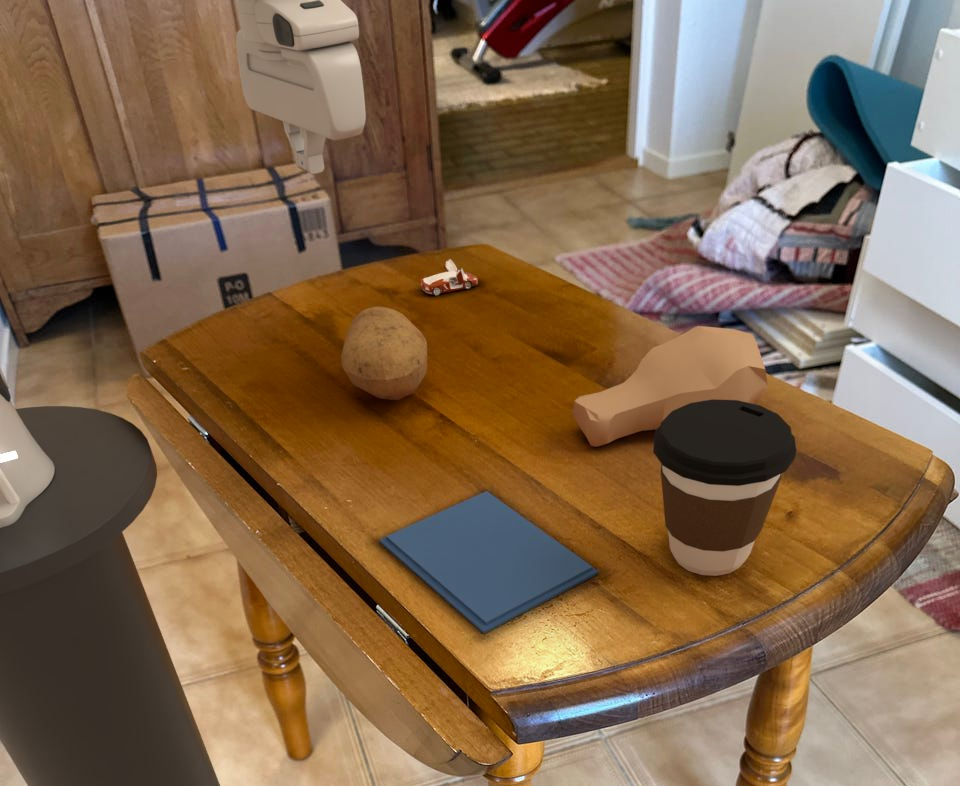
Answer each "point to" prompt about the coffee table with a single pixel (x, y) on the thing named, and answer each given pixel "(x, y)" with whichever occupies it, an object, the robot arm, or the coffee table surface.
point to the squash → (675, 383)
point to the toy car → (448, 280)
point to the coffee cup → (719, 479)
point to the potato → (384, 353)
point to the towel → (487, 560)
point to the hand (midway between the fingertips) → (311, 170)
